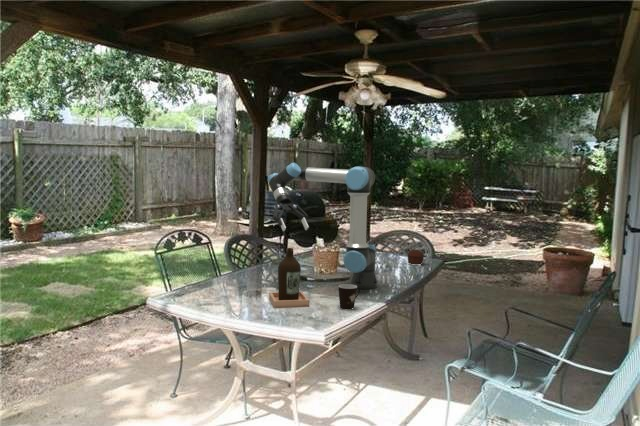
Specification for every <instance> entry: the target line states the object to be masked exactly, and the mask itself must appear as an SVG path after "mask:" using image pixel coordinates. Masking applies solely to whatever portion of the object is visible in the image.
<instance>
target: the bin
mask: <svg viewBox="0 0 640 426" xmlns="http://www.w3.org/2000/svg"><path fill="white" fill-rule="evenodd" d="M268 299H269V301H270V303H271V305H272V307H273V308H274V309H280V308H307V307H310V299H309V298H308V297H307V296H306V294H305V293H304V291H299V300H279V291H275V292H274V291H269V293H268Z"/></svg>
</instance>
